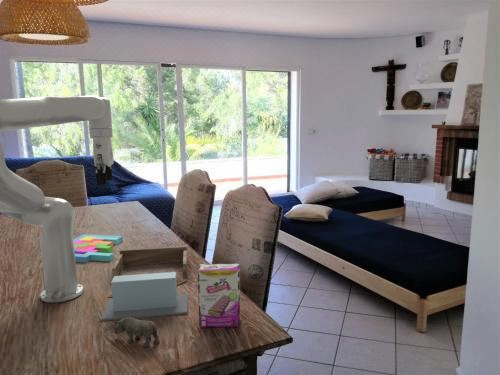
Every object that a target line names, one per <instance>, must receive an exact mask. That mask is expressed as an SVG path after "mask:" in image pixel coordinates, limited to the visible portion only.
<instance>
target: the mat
mask: <svg viewBox="0 0 500 375" xmlns="http://www.w3.org/2000/svg"><path fill="white" fill-rule="evenodd" d="M188 300H189V294H188V293H183V294H181V293H180V294H177V307H165V308H153V309H140V310H128V311H116V312H114V310H113V299H108V301H107V303H106V306H105V307H104V309H103V312H102V313H101V317H100V318H99V320H100V322H103V321H104V322H105V321H120V320H121V317H123V318H124V319H125V318H127V317H132V318H134V319H141V318H151V317H152V318H153V317H166V316H178V315H188V310H189V309H188V305H189V304H188V302H189V301H188Z"/></svg>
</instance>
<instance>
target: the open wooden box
mask: <svg viewBox="0 0 500 375" xmlns="http://www.w3.org/2000/svg"><path fill="white" fill-rule="evenodd" d="M169 263H182V271H183V275H182V276H183V278H188V245H175V246H162V247H161V246H160V247H159V246H158V247H157V246H155V247H140V248H123V249H119V254H118V257H117V258H116V259H115V262H114V264H113V266H112V267H111V274H112V279H113V278H114V276H121V273H122V271H123V269H124V267H125V266H137V265H139V266H141V265H152V264H153V265H154V264H155V265H156V264H169Z"/></svg>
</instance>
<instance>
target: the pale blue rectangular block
mask: <svg viewBox="0 0 500 375" xmlns="http://www.w3.org/2000/svg"><path fill="white" fill-rule="evenodd" d="M176 277H177V272H176V271H172V272H171V271H169V272H156V273H155V272H154V273H140V274H127V275H125V274H124V275H120V276H114V278H113V277H112V280H111V282H110V284H111V294H112V297H111V298H112V300H113V310H114V312H116V311H128V310H140V309H153V308H165V307H177V295H178V288H177V287H178V285H177V284H176Z"/></svg>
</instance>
